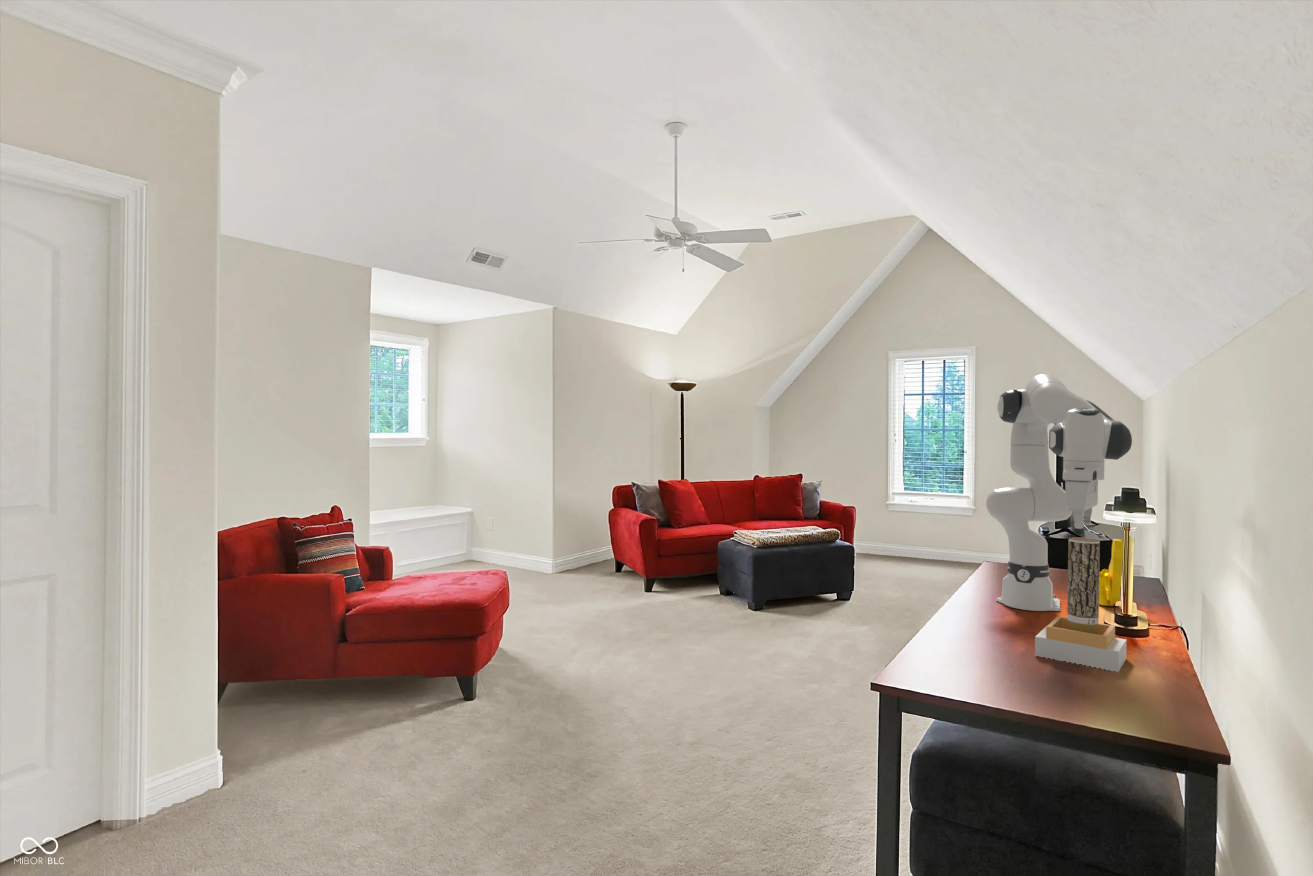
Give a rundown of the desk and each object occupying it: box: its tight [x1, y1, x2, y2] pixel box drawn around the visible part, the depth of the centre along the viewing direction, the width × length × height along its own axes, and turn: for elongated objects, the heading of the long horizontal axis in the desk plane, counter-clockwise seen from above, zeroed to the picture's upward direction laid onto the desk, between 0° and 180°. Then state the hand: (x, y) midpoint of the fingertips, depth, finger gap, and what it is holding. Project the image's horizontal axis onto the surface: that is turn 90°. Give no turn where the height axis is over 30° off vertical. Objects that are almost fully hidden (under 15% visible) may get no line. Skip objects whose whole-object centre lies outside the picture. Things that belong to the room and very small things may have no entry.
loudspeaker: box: [1034, 616, 1128, 673], centre depth 177 cm, size 13×18×8 cm
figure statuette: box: [1099, 538, 1124, 607], centre depth 230 cm, size 18×8×22 cm, turn 158°
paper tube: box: [1066, 536, 1101, 634], centre depth 177 cm, size 7×7×25 cm
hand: (1082, 526), depth 177 cm, fingers open, 8 cm apart
